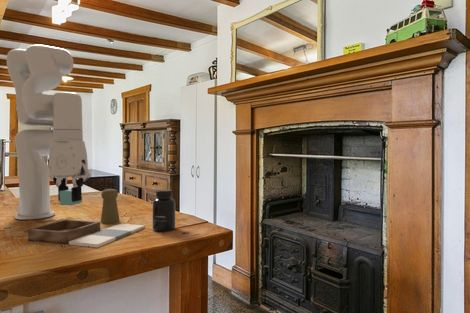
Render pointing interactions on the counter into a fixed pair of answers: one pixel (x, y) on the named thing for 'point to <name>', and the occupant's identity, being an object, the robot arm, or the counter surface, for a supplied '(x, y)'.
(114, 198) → the cork
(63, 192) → the teal cube
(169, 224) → the supplement bottle
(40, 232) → the dice tray
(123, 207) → the counter surface
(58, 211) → the counter surface
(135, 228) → the board
